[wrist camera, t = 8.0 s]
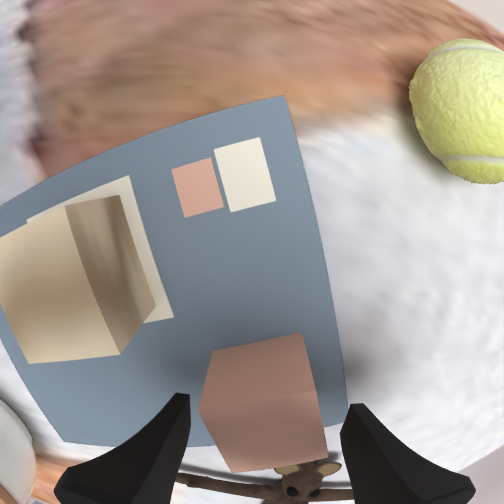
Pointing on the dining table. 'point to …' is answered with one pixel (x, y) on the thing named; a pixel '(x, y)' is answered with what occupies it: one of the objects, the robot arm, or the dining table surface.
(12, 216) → the board
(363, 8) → the dining table surface
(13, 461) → the lidded bowl
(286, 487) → the bear figurine
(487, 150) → the tennis ball
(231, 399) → the terracotta block
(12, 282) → the maple block
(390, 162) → the dining table surface
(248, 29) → the dining table surface
